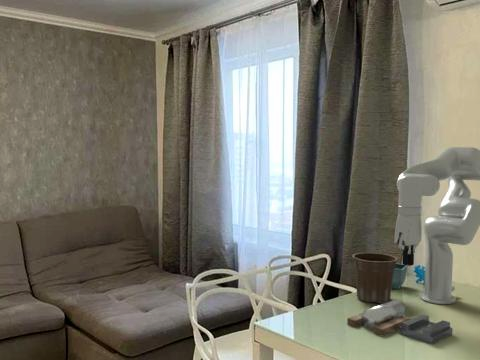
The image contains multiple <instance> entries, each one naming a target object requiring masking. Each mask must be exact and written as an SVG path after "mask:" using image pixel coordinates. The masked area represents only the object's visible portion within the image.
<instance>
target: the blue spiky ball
mask: <svg viewBox="0 0 480 360" xmlns="http://www.w3.org/2000/svg"><path fill="white" fill-rule="evenodd" d="M413 273H414V274H415V275H414V276H415V278H417V279H416V280H415V283H419V282H420V283H421V282H422V284H423V285H424V286H425V265H420V264H418V265H415V266H414V269H413Z"/></svg>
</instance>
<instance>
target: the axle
mask: <svg viewBox="0 0 480 360" xmlns="http://www.w3.org/2000/svg"><path fill="white" fill-rule="evenodd" d="M361 313H362V315H361V320H362V323H363V324H362V325H363V326H364V327H365V328H367V329H371V330H374V327H375V326H377V325H380V324H382V323H385V322H387V321H390V320H392V319H395V318H398V317H400V316H405V313H406V308H405V306H404V304H403V302H401V301H400V300H397V299H394V300H390V301H388V302H386V303H381V304H380V305H377V306H373V307H370V308H368V309H365V310H363V311H362V312H361Z"/></svg>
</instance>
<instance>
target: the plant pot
mask: <svg viewBox="0 0 480 360" xmlns="http://www.w3.org/2000/svg"><path fill="white" fill-rule="evenodd" d="M352 258H353V262H354V263H353V264H354V266H353V267H354V268H355V284H356V285H355V286H356V297H357V299H358V300H360V301H362V302H366V303H374V302H375V303H376V304H384V303H387V302H390V301H391V296H392V294H391V293H392V288H391V287H392V280H393V272H394V270H395V264H397V262H398V257H396V256H394V255H391V254H387V253H386V254H385V253H379V252H359V253H354V254H352Z"/></svg>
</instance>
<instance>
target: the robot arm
mask: <svg viewBox="0 0 480 360" xmlns="http://www.w3.org/2000/svg"><path fill="white" fill-rule="evenodd" d="M445 180H447V184H448V189H447V191H446V193H445V195H444V197H443V198H442V200H441V202H440V204H439V206H438V210H437V214H438V215H434V216H433V215H432V216H429V217H428V218H426V219H425V220H424V223H423V229H422V207H423V206H422V204H423V197H433V196H435V195H436V194H437V193H438V192H439V190H440V187H441V181H445ZM464 181H477V182H478V181H480V149H479V148H476V147H473V146H472V147H471V146H469V147H467V146H466V147H461V146H453V147H448V148H446V149H444V150H443V151H442V152H441V153H440V154H438V155H437V156H435V158H433V159H431V160H428V161H425V162H422V163H417V164H415V165H412V166H410V167H408V168H406V169H405V170H404V171H403V172H402V173H401V174H399V176H398V178H397V181H396V188H397V191H398V207H397V208H398V209H397V210H398V211H397V216H396V217H397V218H396V220H395V221H396V222H395V228H394V230H395V231H394V244H395V245H398V246H397V247H398V250H401V253H402V259H401V260H402V262H401V263H402V264H403V265H408V266H410V267H411V266H414V265H415V263H414V262H415V260H414V259H415V253H416V248H417V247H418V246H419V245H420V243H421V241H422V230H423V232H424V234H423V235H424V240H425V241H424V242H425V261H424V262H425V264H424V267H425V269H424V270H425V285H424V287H423V288H424V292H421V293H420V294H419V299H421V300H422V301H425V302H428V303H431V304H437V305H451V304H454V303H456V300H457V299H456V297H455V296H454V295H452V292H454V291H455V290H456V287H455V286H454V285H453V267H454V265H453V264H454V254H453V251H452V248H451V246H450V244H451V245H460V246H468V245H470V244H471V243H472V241H473V240H474V238H475V236H476V234H477V232H478V230H479V228H480V200H479V199H477V198H471V196H472V193H471V190H470V187H468V185H467V184H466V183H465V182H464ZM408 266H407V267H408Z"/></svg>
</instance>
